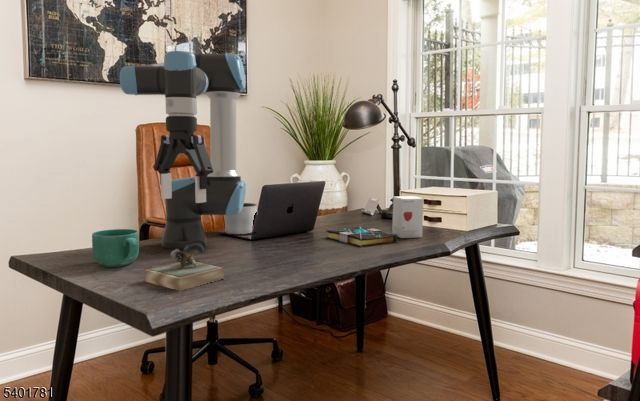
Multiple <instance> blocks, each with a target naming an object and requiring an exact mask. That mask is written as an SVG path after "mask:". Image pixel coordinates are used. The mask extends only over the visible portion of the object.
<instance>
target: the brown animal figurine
mask: <svg viewBox="0 0 640 401" xmlns="http://www.w3.org/2000/svg"><path fill="white" fill-rule="evenodd" d="M207 248H208V246H207V245H206V244H205V243H204V242H203V241H200V240H198V241H197V240H196V241H194V242H191V243H189V244H187V245H186V246H185V248H184V249H182V250H183V251H181V249H173V250H172V251H171V252H170V257H171V258H172V259H173V260H175V259H176V263H181V268H180V269H182V268H183V267H184V266H185V263H186V262H188V263H191V264H193V265H195V266H196V267H197V263H196V262H198V263H201V262H200V261H198V260H196V259H195V258H194V256H197V255H199V254H203V253H205V252H206V251H207Z"/></svg>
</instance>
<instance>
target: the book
mask: <svg viewBox="0 0 640 401" xmlns="http://www.w3.org/2000/svg"><path fill="white" fill-rule="evenodd" d="M325 232H326V233H328V236H326V238H325V239H330V240H333V239H334V241H338V242H341V243H345V244H351V245H354V246H357V247H360V248H362V247H369V246H374V245H382V244H394V243H395V242H398V240H399V239H398V238H399V237H398V234H392V232H390V233H388V232H385V231H382V230H381V229H377V228H365V227H361V225H360V226H357V227H351V228H347V227H345V226H343V227H342V229H326V230H325Z"/></svg>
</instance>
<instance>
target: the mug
mask: <svg viewBox="0 0 640 401" xmlns="http://www.w3.org/2000/svg"><path fill="white" fill-rule="evenodd" d="M91 235H92V236H91V244H92V246H91V247H92V248H91V249H92V255H93V256H92V257H93V259H94V260H95V261H96V262H97V264H100V265H103V267H105V268H119V267H125V266H128V265H130V264H131V263H133V262H134V261H135V260H136V259H137V258H138V257H139V252H140V242H139V241H140V240H139V238H140V237H139V231H138V230H136V229H130V228H118V229H117V228H115V229H104V230H103V229H102V230H98V231H94V232H92V234H91Z"/></svg>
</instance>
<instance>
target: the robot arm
mask: <svg viewBox="0 0 640 401" xmlns="http://www.w3.org/2000/svg"><path fill="white" fill-rule="evenodd" d="M243 64H244V63H243V60H242V58H241V57H240V55H238V54H236V53H227V52H225V53H193V52H190V51H183V50H172V51H167V52H166V53H165V54H164V62H159V63H152V64H147V65H133V64H132V65H129V66H128V65H125V66H123V67H122V68H121V70H120V72H119V85H120V89H121V91H122V92H123V93H124V94H126V95H129V96H130V95H133V96H134V95H135V96H143V95H144V96H151V95H153V96H157V95H159V96H160V95H161V96H163V95H164V96H165V114H167V115H168V116H166V117H165V130H166V132H168V133H169V135H168V134H162V135H161V136H160V145H159V150H158V152H157V156H156V160H155V163H154V167H153V170H154V171H155V172H158V174H159V176H160V177H159V179H160V182H159V183H160V192H161V193H160V195H161V200H165V216H166V217H165V218H166V219H165V223H166V224H165V227H164V230H163V235H162V237H161V247H162V248H165V249H173V250H176V249H179V250H184V248H185V246H186V245H187V244H189V243H191V242H194V241H196V240H197V241H198V240H200V241H203V242H204V243H205V244H206V246H207V244H208V243H207V242H208V240H207V239H208V238H207V235H206V233H205V228H204V226H203V224H202V216H225V215H226V216H228V215H237V214H239V213H240V212H241V210H242V208H243V205H244V203H245V200H246V193H247V192H246V188H247V187H246V185H247V184H246V182H245V181H243V180H242V178H241V177H242V176H241V174H239V172H238V171H237V100H238V99H239V97H241V91H243V90H245V89H246V83H247V82H246V73H245V68H244V65H243ZM204 94H205V96H206V97H208V99H209V102H210V103H209V106H210V108H209V109H210V111H209V113H210V115H209V116H210V118H209V119H210V120H209V123H210V124H209V126H210V127H209V128H210V129H209V130H210V136H209V137H210V138H209V139H210V144H209V145H210V156H209V154H208V151H207V148H206V145H205V139H204V138H205V137H204V135H203V134H202V135H201V134H196V135H195V132H197V130H198V121H197V120H198V119H197V117H196V116H195V115H197V113H198V108H197V107H198V106H197V97H198V96H201V95H204ZM180 154H184V155H185V156H186V157H187V158H188V160H189V162H190V164H191V166H192V167H193V169H194V171H195V175H194V176H191V177H182V178H178V179H177V178H176V179H172V173H171V169H172V167H173V165H174V163H175V161H176V159H177V157H178V155H180Z"/></svg>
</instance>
